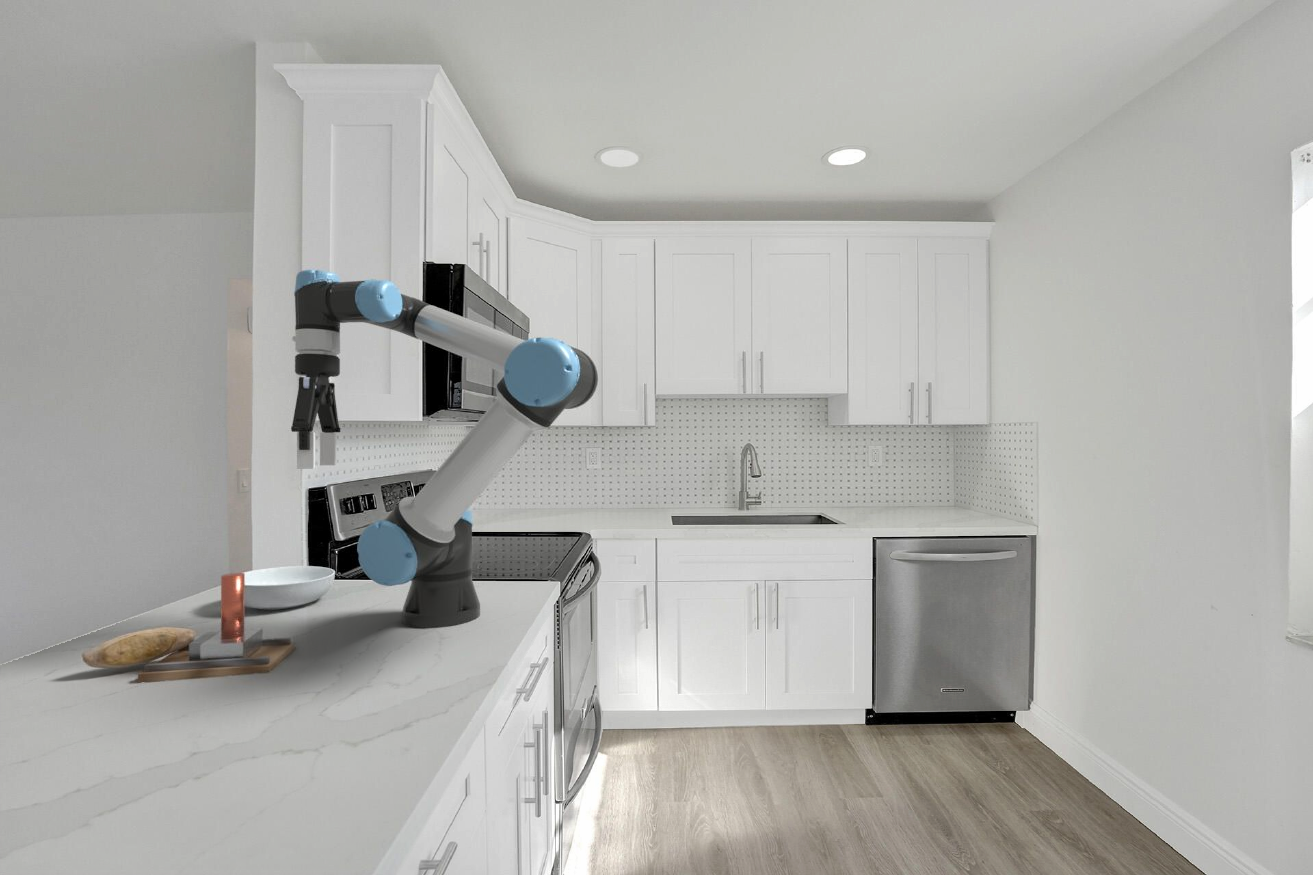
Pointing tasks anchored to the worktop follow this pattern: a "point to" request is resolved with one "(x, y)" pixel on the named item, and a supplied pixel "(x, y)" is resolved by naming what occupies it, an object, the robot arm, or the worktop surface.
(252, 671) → the railed wooden base plate
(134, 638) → the tan elongated oval piece
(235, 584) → the copper peg on base
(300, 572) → the serving bowl
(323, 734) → the worktop surface
